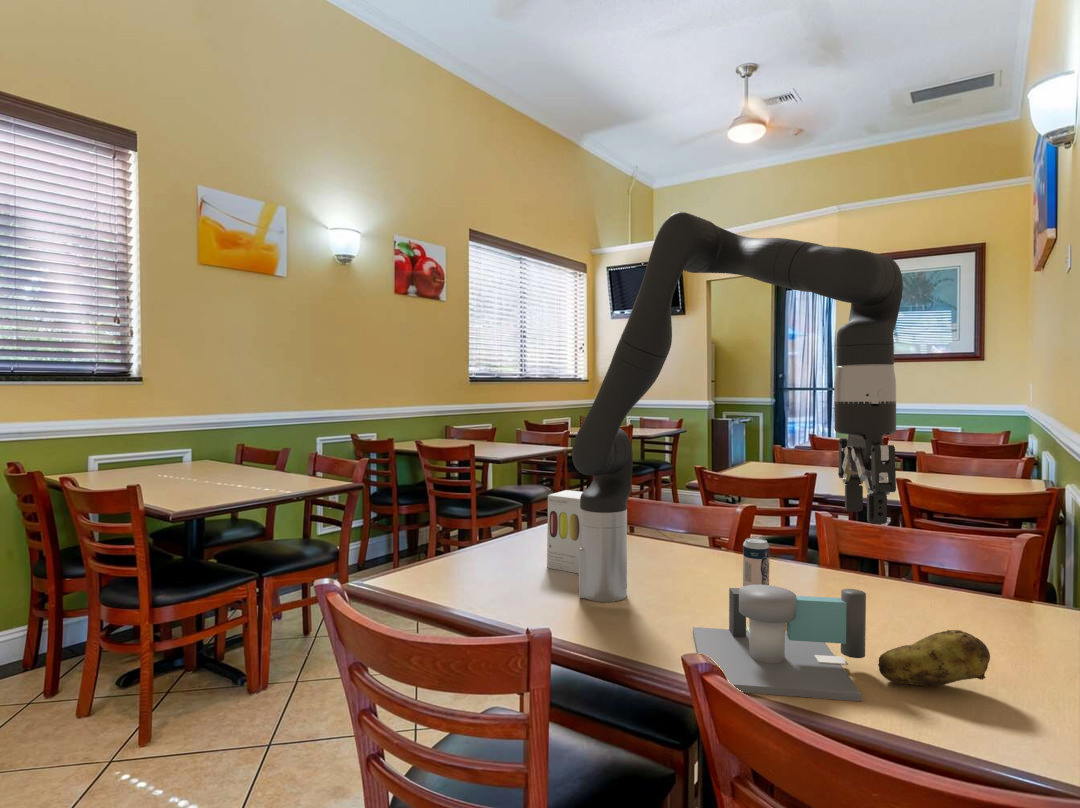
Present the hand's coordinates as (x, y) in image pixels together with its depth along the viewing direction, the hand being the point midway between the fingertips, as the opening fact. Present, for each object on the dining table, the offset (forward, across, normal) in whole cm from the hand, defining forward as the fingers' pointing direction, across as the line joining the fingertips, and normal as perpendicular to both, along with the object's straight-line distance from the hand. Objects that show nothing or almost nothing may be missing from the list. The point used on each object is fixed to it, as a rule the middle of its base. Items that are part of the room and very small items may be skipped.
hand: (864, 517), depth 86 cm
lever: (+21, -5, -7) cm, 23 cm away
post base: (+23, -5, -12) cm, 27 cm away
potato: (+24, -1, +9) cm, 25 cm away
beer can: (+23, -32, -8) cm, 41 cm away
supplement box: (+23, -52, -45) cm, 72 cm away
